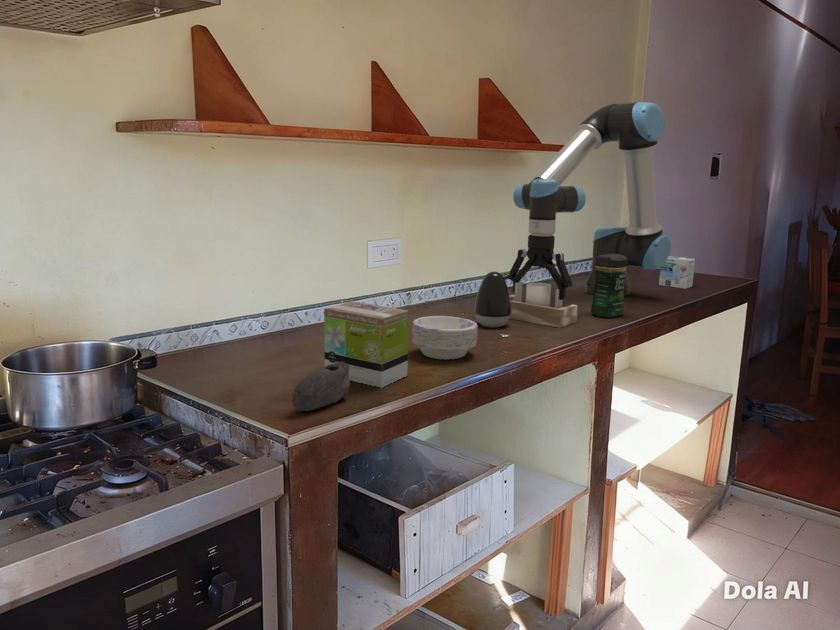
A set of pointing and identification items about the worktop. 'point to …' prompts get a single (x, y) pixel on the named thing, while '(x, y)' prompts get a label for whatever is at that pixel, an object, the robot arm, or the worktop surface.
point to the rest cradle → (543, 313)
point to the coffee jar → (609, 285)
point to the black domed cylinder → (493, 301)
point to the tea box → (367, 341)
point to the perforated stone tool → (322, 387)
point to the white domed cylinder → (538, 294)
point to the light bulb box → (677, 272)
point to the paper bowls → (444, 336)
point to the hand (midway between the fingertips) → (537, 307)
